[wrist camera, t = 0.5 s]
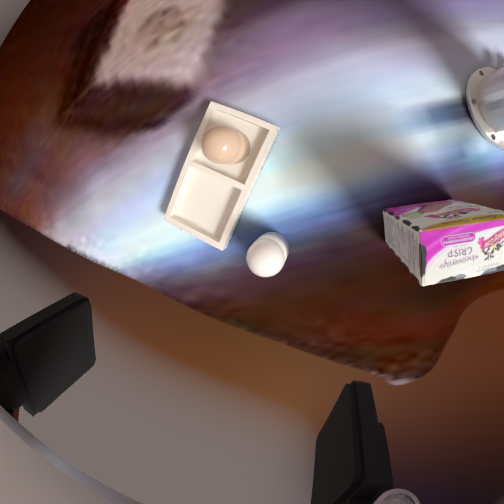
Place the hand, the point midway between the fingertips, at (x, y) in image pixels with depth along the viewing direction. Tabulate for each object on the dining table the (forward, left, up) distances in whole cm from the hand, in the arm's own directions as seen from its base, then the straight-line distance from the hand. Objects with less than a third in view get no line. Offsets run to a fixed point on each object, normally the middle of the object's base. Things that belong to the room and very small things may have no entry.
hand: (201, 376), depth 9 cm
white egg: (+4, -1, -31) cm, 31 cm away
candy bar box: (-9, +15, -31) cm, 35 cm away
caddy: (-2, -12, -31) cm, 33 cm away
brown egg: (-6, -11, -30) cm, 33 cm away
